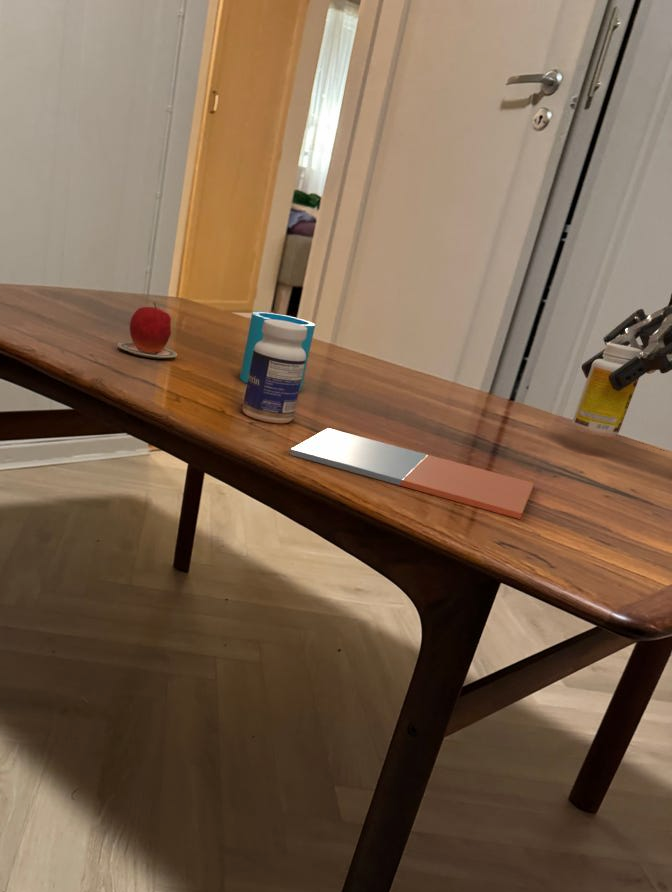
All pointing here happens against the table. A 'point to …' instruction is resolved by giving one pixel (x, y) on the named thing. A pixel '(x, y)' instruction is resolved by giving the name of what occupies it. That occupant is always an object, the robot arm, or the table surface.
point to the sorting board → (417, 471)
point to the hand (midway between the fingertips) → (599, 378)
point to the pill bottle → (276, 372)
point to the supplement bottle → (605, 394)
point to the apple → (149, 333)
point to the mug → (257, 335)
